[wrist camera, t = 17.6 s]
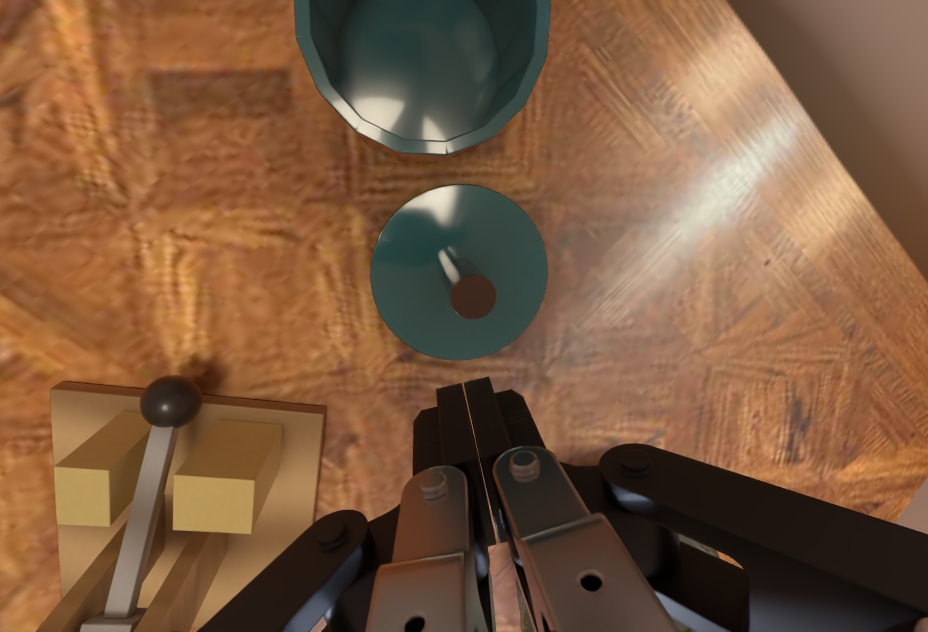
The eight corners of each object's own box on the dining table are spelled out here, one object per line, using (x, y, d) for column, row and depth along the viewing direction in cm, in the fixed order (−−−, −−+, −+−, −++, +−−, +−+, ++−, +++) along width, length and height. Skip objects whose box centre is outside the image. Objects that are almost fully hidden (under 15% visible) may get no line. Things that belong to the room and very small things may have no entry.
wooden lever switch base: (62, 380, 29) (-153, 505, 18) (326, 406, 32) (284, 529, 20) (73, 611, 34) (-92, 826, 22) (304, 616, 36) (259, 812, 25)
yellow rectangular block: (122, 410, 29) (53, 466, 23) (166, 414, 29) (109, 470, 24) (123, 458, 30) (56, 524, 24) (165, 462, 30) (110, 527, 24)
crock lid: (341, 222, 29) (324, 234, 22) (512, 157, 29) (542, 150, 23) (411, 378, 32) (413, 426, 26) (563, 319, 32) (602, 352, 26)
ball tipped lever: (161, 376, 28) (137, 369, 25) (214, 381, 28) (197, 375, 26) (86, 666, 24) (48, 696, 21) (150, 666, 24) (121, 696, 22)
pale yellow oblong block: (217, 418, 30) (173, 474, 24) (282, 424, 30) (254, 480, 25) (215, 465, 31) (172, 530, 25) (279, 470, 31) (251, 534, 26)
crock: (295, 3, 25) (245, -82, 17) (472, -63, 25) (504, -178, 17) (371, 187, 28) (359, 189, 20) (528, 127, 28) (578, 105, 20)
